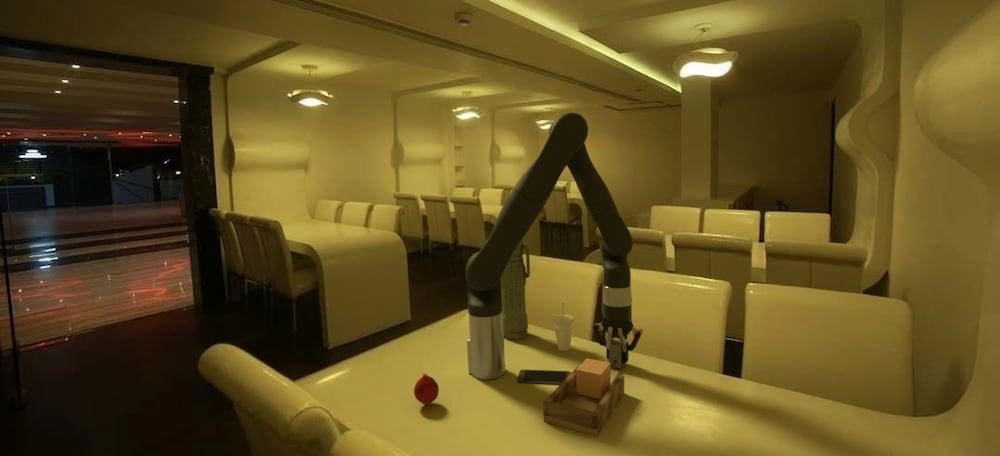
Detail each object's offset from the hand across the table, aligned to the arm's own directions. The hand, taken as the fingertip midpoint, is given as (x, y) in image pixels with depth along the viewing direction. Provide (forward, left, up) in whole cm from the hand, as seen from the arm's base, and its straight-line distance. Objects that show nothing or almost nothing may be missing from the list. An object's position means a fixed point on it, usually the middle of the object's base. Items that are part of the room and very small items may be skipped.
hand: (617, 361), depth 126 cm
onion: (-34, -40, -1) cm, 53 cm away
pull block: (0, -10, -1) cm, 10 cm away
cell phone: (-15, -15, -2) cm, 21 cm away
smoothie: (-18, +5, -1) cm, 19 cm away
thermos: (-37, +8, -1) cm, 38 cm away
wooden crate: (0, -24, -1) cm, 24 cm away
